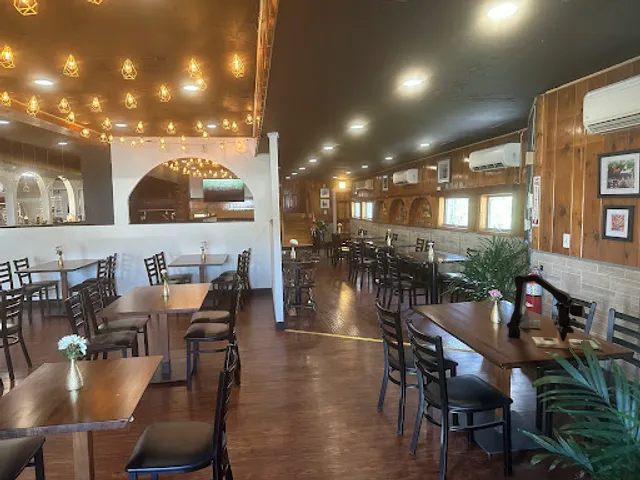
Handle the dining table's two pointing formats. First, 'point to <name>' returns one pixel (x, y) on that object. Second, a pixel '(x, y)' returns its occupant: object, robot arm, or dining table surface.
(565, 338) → the orange block
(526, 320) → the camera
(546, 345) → the trap board
